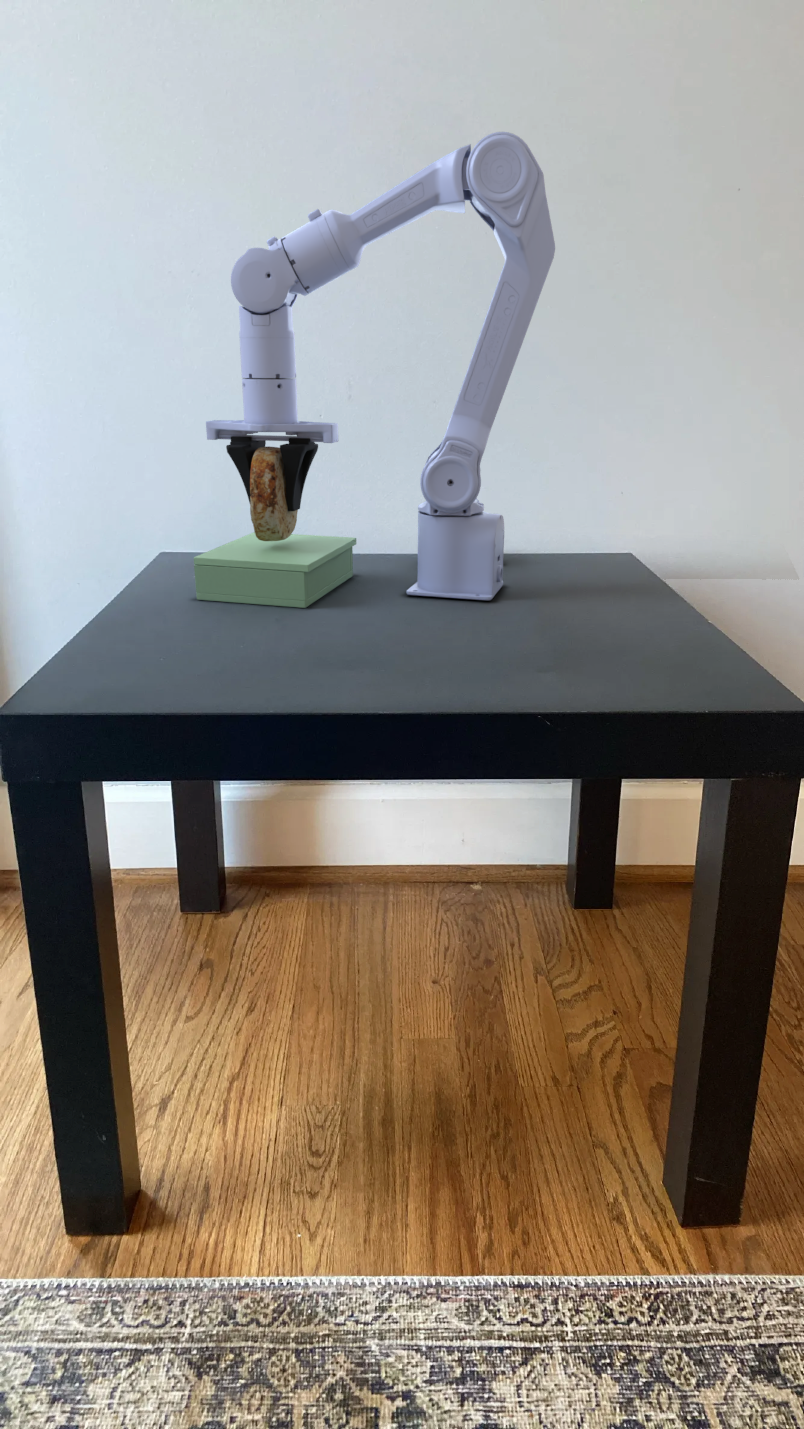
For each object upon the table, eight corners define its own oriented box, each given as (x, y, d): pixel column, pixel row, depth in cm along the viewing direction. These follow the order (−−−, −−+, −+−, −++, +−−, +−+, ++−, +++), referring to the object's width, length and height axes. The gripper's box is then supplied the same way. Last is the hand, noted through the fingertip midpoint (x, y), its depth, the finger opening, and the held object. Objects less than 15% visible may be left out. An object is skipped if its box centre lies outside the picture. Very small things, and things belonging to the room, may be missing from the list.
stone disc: (279, 549, 100) (277, 452, 97) (246, 547, 101) (242, 451, 97) (303, 531, 110) (302, 443, 106) (273, 530, 110) (270, 441, 107)
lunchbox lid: (356, 544, 111) (356, 537, 111) (308, 572, 97) (308, 564, 97) (254, 538, 114) (254, 531, 114) (193, 564, 100) (193, 557, 100)
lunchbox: (353, 576, 113) (352, 544, 111) (305, 608, 99) (304, 572, 97) (256, 569, 116) (254, 538, 114) (196, 599, 102) (193, 565, 100)
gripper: (188, 378, 97) (198, 511, 102) (320, 380, 94) (324, 517, 98) (219, 377, 104) (227, 501, 109) (343, 378, 100) (346, 507, 105)
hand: (275, 509), depth 104 cm, fingers closed on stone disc, 4 cm apart
